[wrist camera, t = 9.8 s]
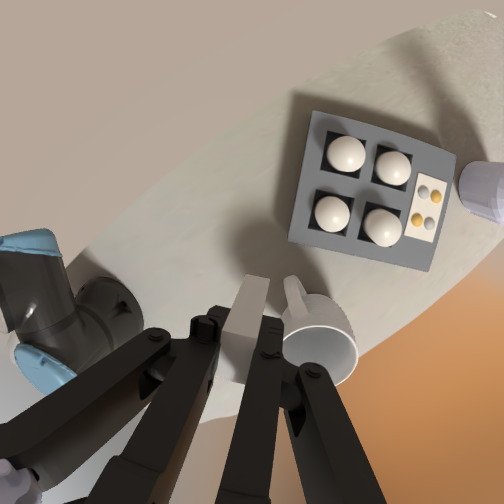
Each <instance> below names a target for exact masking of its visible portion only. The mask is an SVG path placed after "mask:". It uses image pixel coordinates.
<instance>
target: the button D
mask: <svg viewBox="0 0 504 504" xmlns="http://www.w3.org/2000/svg"><path fill="white" fill-rule="evenodd" d="M372 172H373V174H374V176H375V177H376V178H377V179H378V180H379V181H381V182H384V183H388V184H392V185H401V184H403V183H405V182H406V181H407V180H408V178H409V177H410V173H411V165H410V162H409V160H408V159H407V157H406V156H405V155H403V154H402V153H400V152H384V153H380V154H378V155H377V156H376V157H375V161H374V166H373V171H372Z"/></svg>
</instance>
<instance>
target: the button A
mask: <svg viewBox="0 0 504 504" xmlns="http://www.w3.org/2000/svg"><path fill="white" fill-rule="evenodd" d="M314 215H315V218H316V220H317V222H318V224H319V226H320V227H321V228H322V229H324V230H326V231H328V232H337V231H340V230H342V229H343V228H344V227H345V226H346V225H347V223H348V221H349V217H350V213H349V209H348V207H347V205H346V204H345V203H344V202H343V201H342V200H340V199H339V198H338V197H336V196H334V195H324V196H321V197H320V198H319V199H318V200H317V201H316V202H315V205H314Z"/></svg>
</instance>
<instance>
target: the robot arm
mask: <svg viewBox="0 0 504 504" xmlns="http://www.w3.org/2000/svg"><path fill="white" fill-rule="evenodd" d="M269 282H270V279H268V278H263V277H258V276H254V275H249V274H246V275H245V278H244V280H243V282H242V285H241V287H240V289H239V292H238V294H237V296H236V299H235V301H234V303H233V306H232V308H231V309H230V308H226V307H222V306H217V305H215V306H213V307H212V308H210V309H209V311H208V312H207V315H199V316H196V317H193V318H192V319H191V324H190V335H189V337H188V338H186V339H173V338H171V335H170V333H169V332H168V331H166V330H165V329H162V328H155V327H153V328H148V329H146V330H144V331H143V328H144V320H143V315H142V311H141V309H140V306H139V304H138V302H137V301H136V299H135V298H134V296H133V295H132V294H131V293H130V292H129V291H128V290H127V289H126V288H125V287H124V286H123V285H122V284H120V283H118V282H117V281H115V280H113V279H110V278H106V277H98V278H94V279H92V280H90V281H89V282H87V283H86V284H85V285H83V286H82V287H81V289H80V290H79V292H78V294H77V296H76V297H75V298H74V296H73V293H72V290H71V287H70V284H69V281H68V277H67V274H66V271H65V267H64V264H63V260H62V254H61V253H60V251H59V248H58V245H57V241H56V238H55V235H54V234H53V232H52V231H50V230H49V229H36V230H30V231H24V232H19V233H14V234H10V235H6V236H1V237H0V332H2V333H4V334H7V333H10V332H11V331H13V330H15V332H16V334H17V337H18V339H19V341H20V344H18V345H17V346H16V348H15V350H14V355H15V361H16V363H17V365H18V367H19V369H20V370H21V371H22V373H23V374H24V375H25V377H26V378H27V379H28V380H29V381H30V382H31V383H32V384H33V385H34V386H35V387H36V388H37V389H38V390H39V391H41V392H42V393H43V394H45V395H46V397H44V398H43V399H42V400H40V401H38V402H37V403H35V404H34V405H33V406H31V407H30V408H28V409H27V410H25V411H24V412H22V413H21V414H19V415H18V416H16V417H15V418H13V419H12V420H10V421H9V422H7V423H3V424H0V504H41V503H42V501H41V499H42V492H45V491H47V490H49V489H51V488H53V487H55V486H56V485H58V484H59V483H60V482H62V481H63V480H64V479H66V478H67V477H68V476H69V475H70V474H72V473H73V472H74V471H75V470H76V469H77V468H78V467H80V466H81V465H82V464H83V463H84V462H85V461H86V460H88V459H89V458H90V457H91V456H92V455H93V454H94V453H95V452H97V451H98V450H99V449H100V448H101V447H102V446H103V445H104V444H105V443H107V441H109V440H110V439H111V438H112V437H113V436H114V435H115V434H116V433H117V432H118V431H120V430H121V429H122V428H123V427H124V426H125V425H126V424H127V423H128V422H129V421H131V420H132V419H133V418H134V417H135V416H136V415H137V414H138V413H139V412H140V411H141V410H142V409H143V408H144V407H145V406H146V405H148V404H149V403H150V402H151V403H150V404H149V406H148V408H147V410H146V411H145V413H144V415H143V417H142V419H141V420H140V422H139V424H138V425H137V427H136V429H135V431H134V432H133V434H132V436H131V438H130V439H129V441H128V443H127V445H126V446H125V448H124V450H123V452H122V453H121V454H120V455H119V456H113V457H112V458H111V459H110V460H109V462H108V463H107V465H106V466H105V468H104V470H103V472H102V473H101V475H100V477H99V478H98V480H97V482H96V483H95V485H94V487H93V489H92V490H91V492H90V494H89V496H88V497H84V498H80V499H77V500H74V501H70V502H67V503H64V504H169V500H170V498H171V495H172V492H173V490H174V487H175V484H176V482H177V479H178V476H179V474H180V471H181V469H182V466H183V463H184V460H185V458H186V455H187V453H188V450H189V447H190V445H191V442H192V439H193V437H194V434H195V431H196V429H197V426H198V423H199V421H200V418H201V415H202V413H203V410H204V407H205V404H206V402H207V399H208V396H209V394H210V391H211V388H212V386H213V380H214V375H215V377H216V378H220V379H224V380H228V381H232V382H237V383H241V384H246V385H245V389H244V393H243V397H242V401H241V405H240V409H239V413H238V417H237V421H236V425H235V429H234V433H233V437H232V441H231V445H230V449H229V452H228V456H227V460H226V464H225V468H224V472H223V475H222V479H221V483H220V486H219V490H218V493H217V497H216V501H215V504H271V499H270V498H269V489H270V482H271V474H272V467H273V459H274V450H275V441H276V433H277V423H278V414H279V407H282V408H284V415H285V419H286V424H287V427H288V432H289V435H290V440H291V444H292V448H293V452H294V456H295V460H296V464H297V468H298V472H299V476H300V479H301V484H302V488H303V492H304V496H305V499H306V503H307V504H387V503H386V500H385V498H384V496H383V493H382V491H381V489H380V486H379V484H378V482H377V479H376V477H375V475H374V472H373V470H372V468H371V466H370V463H369V461H368V459H367V456H366V454H365V452H364V450H363V447H362V445H361V443H360V441H359V439H358V436H357V434H356V432H355V429H354V427H353V425H352V423H351V420H350V418H349V416H348V414H347V412H346V409H345V407H344V405H343V403H342V401H341V398H340V396H339V394H338V392H337V390H336V387H335V385H334V383H333V381H332V379H331V377H330V374H329V372H328V371H327V369H326V368H325V367H323V366H322V365H320V364H318V363H314V362H305V363H303V364H301V365H300V367H299V366H296V365H294V364H292V363H290V362H288V361H287V360H286V359H285V358H284V355H283V352H282V349H283V337H284V336H283V335H284V323H283V321H282V320H281V319H280V318H275V317H270V316H265V315H263V311H264V306H265V301H266V297H267V292H268V287H269ZM215 373H216V374H215Z"/></svg>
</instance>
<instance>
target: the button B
mask: <svg viewBox="0 0 504 504" xmlns="http://www.w3.org/2000/svg"><path fill="white" fill-rule="evenodd" d="M326 158H327V161H328V163H329V164H330V166H331V167H333V168H334V169H336V170H339V171H345V172H352V171H356V170H358V169H359V168H360V167H361V166H362V165H363V163H364V161H365V149H364V147H363V145H362V143H361V142H360V141H359V140H357V139H356V138H354V137H351V136H343V137H340V138H338V139H336V140H334V141H333V142H331V143H330V144H329V146H328V147H327V150H326Z"/></svg>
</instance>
